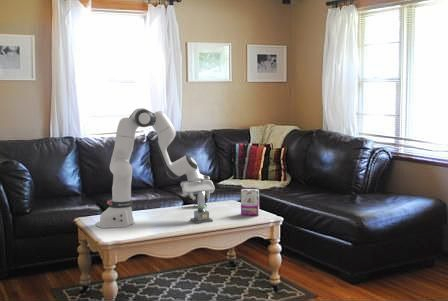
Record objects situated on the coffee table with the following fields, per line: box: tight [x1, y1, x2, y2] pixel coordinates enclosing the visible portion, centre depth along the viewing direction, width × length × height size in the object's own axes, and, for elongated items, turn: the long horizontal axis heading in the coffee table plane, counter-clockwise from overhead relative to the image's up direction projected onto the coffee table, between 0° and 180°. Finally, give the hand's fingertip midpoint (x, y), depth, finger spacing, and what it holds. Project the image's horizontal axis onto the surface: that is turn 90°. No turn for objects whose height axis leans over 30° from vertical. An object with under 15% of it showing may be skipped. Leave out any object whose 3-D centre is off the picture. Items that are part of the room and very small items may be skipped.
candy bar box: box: [240, 188, 260, 217], centre depth 352 cm, size 11×5×16 cm, turn 76°
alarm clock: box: [191, 193, 209, 207], centre depth 377 cm, size 11×5×16 cm, turn 84°
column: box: [197, 191, 206, 212], centre depth 336 cm, size 5×5×12 cm
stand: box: [190, 209, 214, 224], centre depth 337 cm, size 11×9×6 cm
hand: (201, 198), depth 335 cm, fingers open, 8 cm apart
